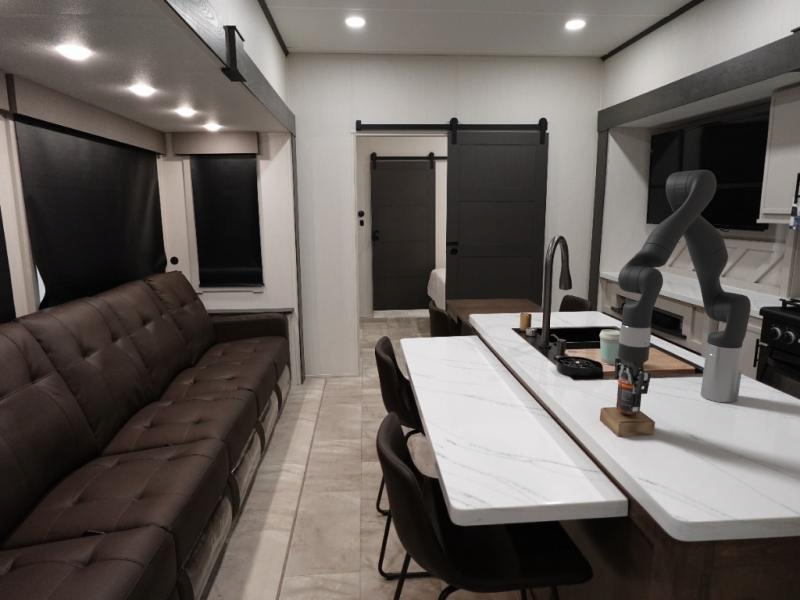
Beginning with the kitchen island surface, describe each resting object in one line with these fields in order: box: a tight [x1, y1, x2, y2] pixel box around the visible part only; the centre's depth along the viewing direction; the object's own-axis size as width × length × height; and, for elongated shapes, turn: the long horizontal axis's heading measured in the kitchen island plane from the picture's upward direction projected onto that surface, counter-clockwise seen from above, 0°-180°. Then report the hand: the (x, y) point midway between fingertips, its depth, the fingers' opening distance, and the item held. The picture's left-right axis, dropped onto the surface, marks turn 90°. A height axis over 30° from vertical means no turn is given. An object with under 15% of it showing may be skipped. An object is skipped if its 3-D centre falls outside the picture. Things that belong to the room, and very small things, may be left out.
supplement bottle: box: [615, 370, 642, 414], centre depth 143 cm, size 6×6×11 cm
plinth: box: [599, 406, 656, 437], centre depth 144 cm, size 10×10×4 cm
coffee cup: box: [599, 329, 620, 364], centre depth 199 cm, size 8×8×12 cm
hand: (628, 401), depth 143 cm, fingers closed on supplement bottle, 6 cm apart
